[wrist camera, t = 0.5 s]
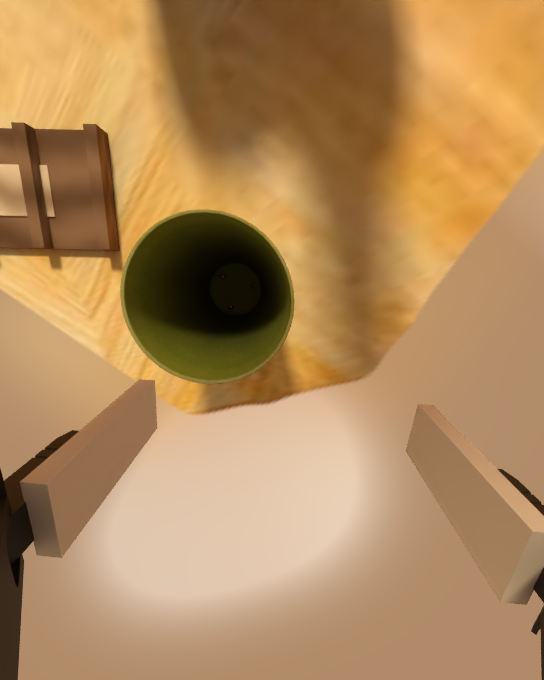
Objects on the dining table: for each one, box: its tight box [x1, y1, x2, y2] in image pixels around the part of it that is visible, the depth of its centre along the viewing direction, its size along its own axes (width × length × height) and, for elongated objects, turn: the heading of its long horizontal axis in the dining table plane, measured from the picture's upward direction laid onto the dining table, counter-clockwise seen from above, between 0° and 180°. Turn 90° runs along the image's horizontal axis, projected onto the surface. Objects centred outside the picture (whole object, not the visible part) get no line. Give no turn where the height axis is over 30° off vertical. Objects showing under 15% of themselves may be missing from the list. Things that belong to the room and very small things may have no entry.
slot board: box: [0, 122, 119, 251], centre depth 36 cm, size 14×20×2 cm
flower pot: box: [120, 209, 294, 384], centre depth 32 cm, size 15×15×16 cm
